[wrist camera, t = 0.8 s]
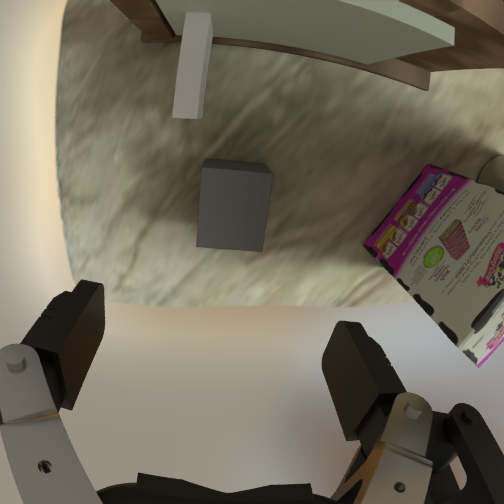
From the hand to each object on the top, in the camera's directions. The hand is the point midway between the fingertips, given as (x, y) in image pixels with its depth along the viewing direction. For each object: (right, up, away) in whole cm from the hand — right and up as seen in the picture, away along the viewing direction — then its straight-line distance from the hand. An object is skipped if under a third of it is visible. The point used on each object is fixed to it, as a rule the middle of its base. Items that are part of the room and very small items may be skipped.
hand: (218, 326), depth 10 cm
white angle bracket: (+3, +16, +13) cm, 21 cm away
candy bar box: (+17, +6, +20) cm, 27 cm away
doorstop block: (-1, +7, +17) cm, 19 cm away
